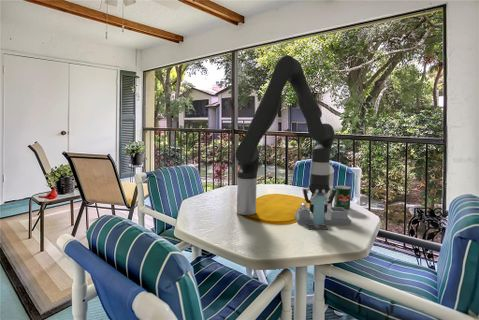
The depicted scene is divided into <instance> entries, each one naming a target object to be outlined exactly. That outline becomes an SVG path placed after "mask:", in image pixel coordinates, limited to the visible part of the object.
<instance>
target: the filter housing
mask: <svg viewBox="0 0 479 320" xmlns="http://www.w3.org/2000/svg"><path fill="white" fill-rule="evenodd" d="M348 213H349V212H348V210H345V209H344V208H343V207H334V206H332V207H327V212H326V213H324V224H323V225H337V226H340V225H341V226H351V225H352V219H351V218H349V215H348ZM294 218H296V219H295V221H296V223H297V224H298V225H303V224H304V225H307V224H313V213H311V212H310V210H309V207H307V210H301V207H297V212H294Z"/></svg>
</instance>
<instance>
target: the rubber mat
mask: <svg viewBox="0 0 479 320" xmlns="http://www.w3.org/2000/svg"><path fill="white" fill-rule="evenodd" d="M306 227H307V229H308V230H309V231H310V230H313V231H315V230H316V231H329V228H328V226H327V224H323V225H316V224H306Z"/></svg>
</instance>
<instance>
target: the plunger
mask: <svg viewBox="0 0 479 320" xmlns="http://www.w3.org/2000/svg"><path fill="white" fill-rule="evenodd" d="M300 208H301V210H307V208H308V203H307V202H306V203H305V202H301V203H300Z"/></svg>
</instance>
